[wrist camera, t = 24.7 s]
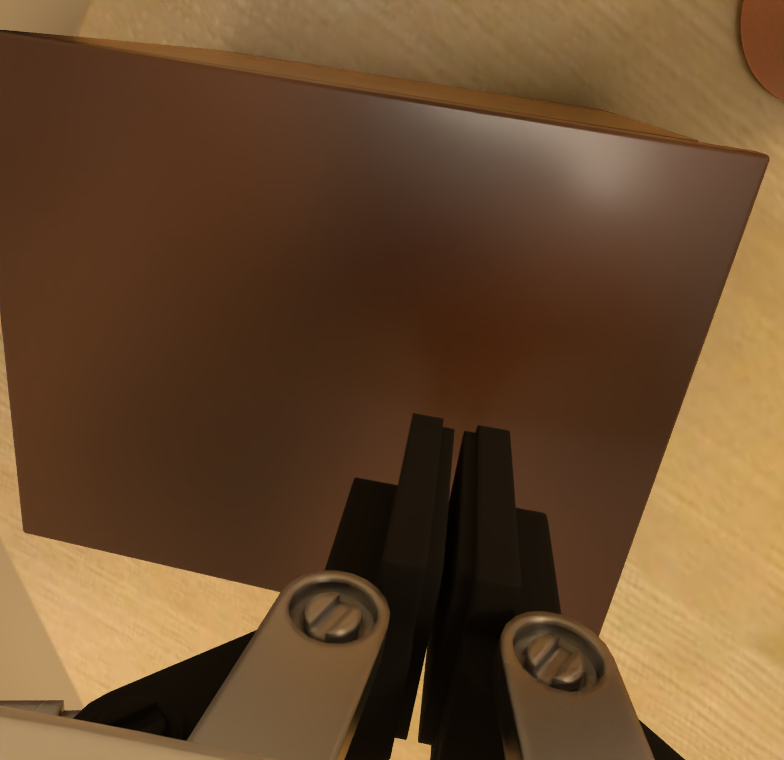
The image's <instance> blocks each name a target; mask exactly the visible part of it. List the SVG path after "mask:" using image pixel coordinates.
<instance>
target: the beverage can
mask: <svg viewBox="0 0 784 760" xmlns="http://www.w3.org/2000/svg"><path fill="white" fill-rule="evenodd" d="M741 39H742V45H743V50H744V54H745V57H746V60H747V62H748V64H749V67H750V68H751V70H752V72H753V74H754V75H755V77H756V78H757V80H758V81H759V82H760V83H761V84H762V85H763V86H764V87H765V88H766V89H767V90H768V91H769V92H770V93H771V94H773V95H774V96H776V97H777V98H779V99H781V100H783V101H784V0H744V2H743V7H742V13H741Z"/></svg>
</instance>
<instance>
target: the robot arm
mask: <svg viewBox="0 0 784 760" xmlns="http://www.w3.org/2000/svg"><path fill="white" fill-rule="evenodd" d="M443 422H444V419H443V418H438V417H432V416H427V415H421V414H416V413H413V415H412V420H411V425H410V430H409V434H408V439H407V444H406V449H405V453H404V458H403V463H402V468H401V473H400V477H399V482H398V485H394V484H389V483H384V482H378V481H373V480H368V479H362V478H357V477H355V478H354V481H353V483H352V486H351V489H350V493H349V496H348V499H347V502H346V505H345V508H344V511H343V514H342V517H341V520H340V524H339V527H338V530H337V533H336V536H335V539H334V542H333V545H332V548H331V552H330V555H329V558H328V561H327V564H326V567H325V570H324V571H316V572H312V573H308V574H304V575H302V576H300V577H298V578H297V579H295V580H293V581H291V582H290V583H289V584H288V585H287V586H286V587H285V588H284V589H283V590H282V592H281V593H280V594H279V596H278V598H277V599H276V601H275V602H274V604H273V605H272V607H271V609H270V610H269V612H268V613H267V615H266V616H265V618H264V620H263V621H262V623H261V624H260V626H259V628H258V629H257V630H256V631H253V632H251V633H249V634H246V635H244V636H242V637H239V638H237V639H234V640H232V641H230V642H227V643H225V644H223V645H220V646H218V647H215V648H213V649H211V650H208V651H206V652H204V653H201V654H199V655H196V656H194V657H192V658H189V659H187V660H185V661H182V662H180V663H177V664H175V665H173V666H170V667H168V668H166V669H163V670H161V671H158V672H156V673H154V674H151V675H149V676H147V677H144V678H142V679H139V680H137V681H135V682H132V683H130V684H128V685H125V686H123V687H120V688H118V689H116V690H113V691H111V692H109V693H107V694H105V695H103V696H101V697H100V698H98V699H96V700H94V701H92V702H91V703H89V704H88V705H87V706H86V707H85V708H84V709H82V710H80V711H79V710H76V711H74V710H72V711H64V701H62V700H60V701H58V700H57V701H56V700H49V701H0V760H389V759H390V757H391V752H392V747H393V743H394V738H400V739H404V740H406V739H407V735H408V731H409V726H410V722H411V717H412V713H413V708H414V704H415V699H416V695H417V690H418V685H419V681H420V676H421V672H422V667H423V663H424V658H425V653H426V649H427V653H426V663H425V673H424V684H423V694H422V704H421V714H420V724H419V734H418V742H419V743H424V744H428V745H431V758H430V760H685V759H684V758H682V757H681V756H680V755H679V754H678V753H677V752H676V751H674V750H673V749H672V748H671V747H670V746H669V745H668V744H666V743H665V742H664V741H663V740H662V739H661V738H659V737H658V736H657V735H656V734H655V733H654V732H653V731H651V730H650V729H649V728H648V727H647V726H646V725H645V724H643V723H642V722H641V721H640V720H639V719H638V717H637V715H636V712H635V710H634V707H633V705H632V702H631V700H630V697H629V695H628V692H627V690H626V687H625V685H624V682H623V680H622V677H621V675H620V672H619V670H618V667H617V665H616V662H615V660H614V658H613V656H612V654H611V653H610V651H609V649H608V647H607V646H606V644H605V643H604V642H603V641H602V640H601V639H600V638H599V637H598V636H597V635H596V634H595V633H594V632H593V631H591V630H590V629H588V628H587V627H585V626H584V625H582V624H581V623H580V622H578V621H576V620H573V619H571V618H568V617H566V616H564V615H562V614H561V607H560V600H559V593H558V587H557V580H556V573H555V566H554V559H553V552H552V545H551V538H550V531H549V524H548V519H547V515H546V514H545V513H542V512H537V511H532V510H527V509H521V508H516V504H515V491H514V477H513V464H512V450H511V437H510V431H509V430H503V429H498V428H492V427H487V426H482V425H478V426H477V429H476V432H475V433H474V432H469V431H464V433H463V437H462V442H461V447H460V451H459V456H458V461H457V466H456V470H455V475H454V480H453V484H452V489H451V494H450V499H449V493H450V481H451V469H452V456H453V444H454V432H455V429H452V428H447V427H443Z"/></svg>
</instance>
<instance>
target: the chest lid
mask: <svg viewBox="0 0 784 760" xmlns="http://www.w3.org/2000/svg"><path fill="white" fill-rule="evenodd" d="M768 163H769V156H768V155H766V154H763V153H760V152H756V151H752V150H745V149H739V148H733V147H727V146H720V145H714V144H708V143H702V142H695V141H689V140H683V139H677V138H671V137H664V136H658V135H652V134H646V133H639V132H633V131H627V130H621V129H614V128H608V127H602V126H596V125H589V124H583V123H577V122H571V121H565V120H558V119H552V118H546V117H540V116H533V115H527V114H521V113H515V112H508V111H502V110H496V109H490V108H484V107H477V106H471V105H465V104H459V103H452V102H446V101H440V100H434V99H427V98H421V97H415V96H409V95H403V94H396V93H390V92H384V91H378V90H371V89H365V88H359V87H353V86H346V85H340V84H334V83H328V82H322V81H315V80H309V79H303V78H297V77H290V76H284V75H278V74H272V73H265V72H259V71H253V70H247V69H241V68H234V67H228V66H222V65H216V64H209V63H203V62H197V61H191V60H184V59H178V58H172V57H166V56H159V55H153V54H147V53H141V52H135V51H128V50H122V49H116V48H110V47H103V46H97V45H91V44H85V43H78V42H72V41H66V40H60V39H54V38H47V37H41V36H35V35H29V34H22V33H16V32H10V31H4V30H0V314H1V324H2V333H3V343H4V352H5V362H6V371H7V381H8V390H9V400H10V409H11V419H12V428H13V438H14V447H15V457H16V466H17V476H18V485H19V495H20V504H21V514H22V523H23V531H24V532H25V533H28V534H33V535H37V536H41V537H46V538H50V539H54V540H58V541H63V542H67V543H71V544H76V545H80V546H84V547H88V548H93V549H97V550H101V551H106V552H110V553H114V554H119V555H123V556H127V557H131V558H136V559H140V560H144V561H149V562H153V563H157V564H162V565H166V566H170V567H174V568H179V569H183V570H187V571H192V572H196V573H200V574H205V575H209V576H213V577H217V578H222V579H226V580H230V581H235V582H239V583H243V584H248V585H252V586H256V587H260V588H265V589H269V590H273V591H278V592H282V590H283V589H284V588H285V587H286V586H287V585H288V584H289V583H290V582H291V581H293V580H295V579H297V578H298V577H300V576H302V575H304V574H308V573H312V572H316V571H324V570H325V567H326V564H327V561H328V558H329V555H330V552H331V548H332V545H333V542H334V539H335V536H336V533H337V530H338V527H339V524H340V520H341V517H342V514H343V511H344V508H345V505H346V502H347V499H348V496H349V493H350V489H351V486H352V483H353V481H354V478H355V477H357V478H362V479H368V480H373V481H378V482H384V483H389V484H394V485H398V482H399V477H400V473H401V468H402V463H403V458H404V453H405V449H406V444H407V439H408V434H409V430H410V425H411V420H412V415H413V413H416V414H421V415H427V416H432V417H438V418H443V419H444V422H443V427H447V428H452V429H455V432H454V444H453V456H452V469H451V481H450V493H449V499H450V494H451V489H452V484H453V480H454V475H455V470H456V466H457V461H458V456H459V451H460V447H461V442H462V437H463V433H464V431H469V432H474V433H475V432H476V429H477V426H478V425H482V426H487V427H492V428H498V429H503V430H509V431H510V437H511V450H512V464H513V477H514V491H515V504H516V508H521V509H527V510H532V511H537V512H542V513H545V514H546V515H547V519H548V524H549V531H550V538H551V545H552V552H553V559H554V566H555V573H556V580H557V587H558V593H559V600H560V607H561V614H562V615H564V616H566V617H568V618H571V619H573V620H576V621H578V622H580V623H581V624H582V625H584V626H585V627H587V628H588V629H590V630H591V631H593V632H594V633H595V634H596V635H597V636H598V637H599V634H600V631H601V629H602V626H603V623H604V620H605V617H606V615H607V612H608V609H609V606H610V603H611V601H612V598H613V595H614V592H615V589H616V587H617V584H618V581H619V578H620V576H621V573H622V570H623V567H624V564H625V562H626V559H627V556H628V553H629V550H630V548H631V545H632V542H633V539H634V537H635V534H636V531H637V528H638V525H639V523H640V520H641V517H642V514H643V511H644V509H645V506H646V503H647V500H648V497H649V495H650V492H651V489H652V486H653V484H654V481H655V478H656V475H657V472H658V470H659V467H660V464H661V461H662V458H663V456H664V453H665V450H666V447H667V445H668V442H669V439H670V436H671V433H672V431H673V428H674V425H675V422H676V419H677V417H678V414H679V411H680V408H681V406H682V403H683V400H684V397H685V394H686V392H687V389H688V386H689V383H690V380H691V378H692V375H693V372H694V369H695V366H696V364H697V361H698V358H699V355H700V353H701V350H702V347H703V344H704V341H705V339H706V336H707V333H708V330H709V327H710V325H711V322H712V319H713V316H714V314H715V311H716V308H717V305H718V302H719V300H720V297H721V294H722V291H723V288H724V286H725V283H726V280H727V277H728V274H729V272H730V269H731V266H732V263H733V261H734V258H735V255H736V252H737V249H738V247H739V244H740V241H741V238H742V235H743V233H744V230H745V227H746V224H747V222H748V219H749V216H750V213H751V210H752V208H753V205H754V202H755V199H756V196H757V194H758V191H759V188H760V185H761V182H762V180H763V177H764V174H765V171H766V169H767V166H768Z"/></svg>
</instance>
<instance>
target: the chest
mask: <svg viewBox="0 0 784 760" xmlns="http://www.w3.org/2000/svg"><path fill="white" fill-rule="evenodd" d="M4 31H9V30H4ZM10 32H16V33H22V34H29V35H35V36H41V37H47V38H54V39H60V40H66V41H72V42H78V43H85V44H91V45H97V46H103V47H110V48H116V49H122V50H128V51H135V52H141V53H147V54H153V55H159V56H166V57H172V58H178V59H184V60H191V61H197V62H203V63H209V64H216V65H222V66H228V67H234V68H241V69H247V70H253V71H259V72H265V73H272V74H278V75H284V76H290V77H297V78H303V79H309V80H315V81H322V82H328V83H334V84H340V85H346V86H353V87H359V88H365V89H371V90H378V91H384V92H390V93H396V94H403V95H409V96H415V97H421V98H427V99H434V100H440V101H446V102H452V103H459V104H465V105H471V106H477V107H484V108H490V109H496V110H502V111H508V112H515V113H521V114H527V115H533V116H540V117H546V118H552V119H558V120H565V121H571V122H577V123H583V124H589V125H596V126H602V127H608V128H614V129H621V130H627V131H633V132H639V133H646V134H652V135H658V136H664V137H671V138H677V139H683V140H689V141H695V142H699V141H697V140H694V139H691V138H688V137H685V136H682V135H679V134H676V133H673V132H669V131H666V130H663V129H660V128H657V127H654V126H651V125H648V124H645V123H642V122H639V121H636V120H633V119H630V118H627V117H624V116H620V115H617V114H614V113H611V112H608V111H603V110H596V109H590V108H584V107H577V106H571V105H564V104H558V103H552V102H545V101H539V100H533V99H526V98H520V97H514V96H507V95H501V94H495V93H488V92H482V91H476V90H469V89H463V88H457V87H450V86H444V85H438V84H431V83H425V82H419V81H412V80H406V79H400V78H393V77H387V76H381V75H374V74H368V73H362V72H355V71H349V70H343V69H336V68H330V67H324V66H317V65H311V64H305V63H298V62H292V61H286V60H279V59H273V58H267V57H260V56H254V55H248V54H241V53H235V52H229V51H222V50H213V49H202V48H192V47H181V46H170V45H159V44H149V43H138V42H127V41H116V40H106V39H95V38H84V37H73V36H63V35H51V34H41V33H30V32H19V31H10Z"/></svg>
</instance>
